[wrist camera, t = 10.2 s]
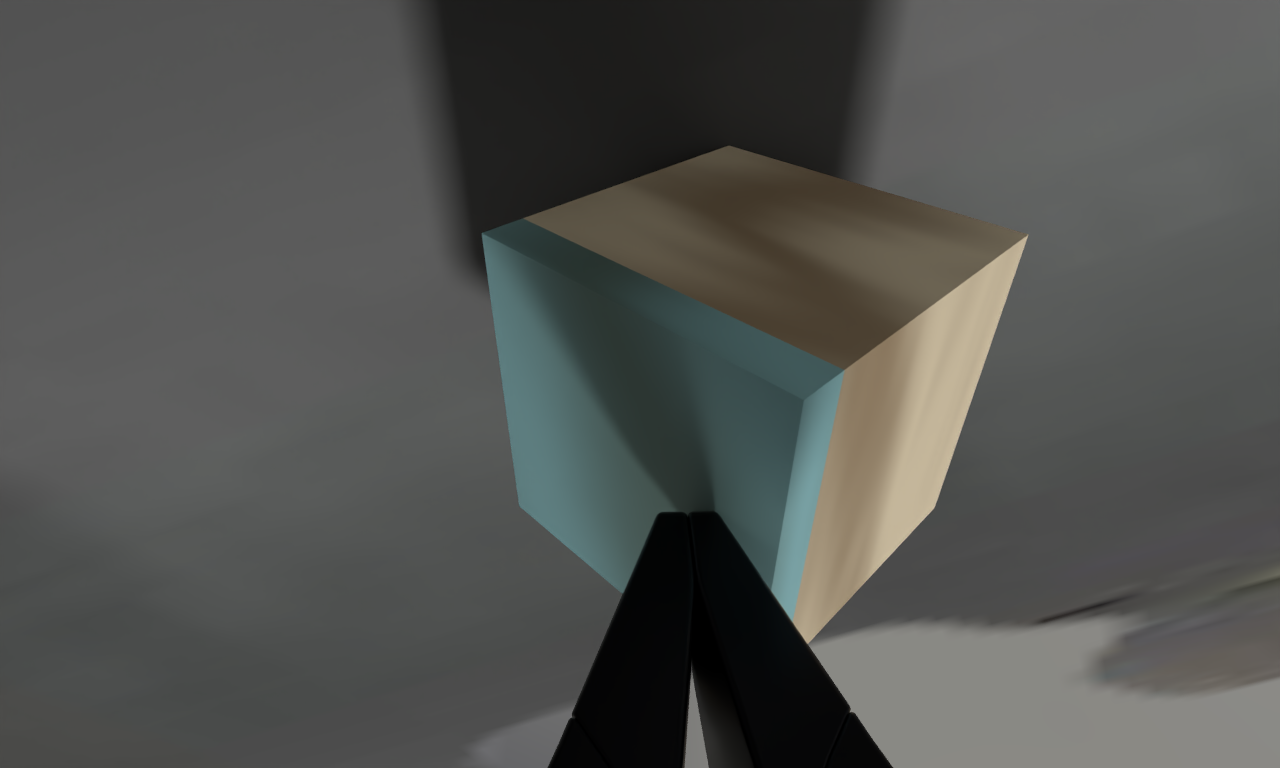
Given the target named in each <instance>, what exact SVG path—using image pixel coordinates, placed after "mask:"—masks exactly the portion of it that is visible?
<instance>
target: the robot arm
mask: <svg viewBox="0 0 1280 768" xmlns="http://www.w3.org/2000/svg"><path fill="white" fill-rule="evenodd" d="M691 663H692V672H693V679H694V686H695V691H696V697H697V702H698V708H699V714H700V720H701V725H702V731H703V737H704V742H705V748H706V753H707V759H708V765H709V768H893V767H892V766H891V764H890V763H889V761H888V760H887V759H886V757H885V756H884V754H883V753H882V752H881V750H880V749H879V748H878V746H877V745H876V743H875V742H874V741H873V739H872V738H871V736H870V735H869V733H868V732H867V730H866V729H865V727H864V726H863V724H862V723H861V722H860V720H859V719H858V717H857V716H856V714H855V713H853V712H850V710H851V708H850V706H849V705H848V703H847V701H846V700H845V698H844V697H843V696H842V694H841V693H840V691H839V690H838V688H837V687H836V685H835V684H834V682H833V681H832V679H831V678H830V677H829V675H828V674H827V672H826V671H825V669H824V668H823V666H822V665H821V663H820V662H819V660H818V659H817V657H816V656H815V654H814V653H813V652H812V650H811V648H810V647H809V646H808V644H807V643H806V641H805V640H804V638H803V637H802V635H801V634H800V632H799V631H798V629H797V628H796V626H795V625H794V623H793V622H792V621H791V619H790V618H789V616H788V615H787V613H786V612H785V610H784V609H783V607H782V606H781V604H780V603H779V601H778V600H777V598H776V597H775V596H774V594H773V593H772V591H771V590H770V588H769V587H768V585H767V584H766V582H765V581H764V579H763V578H762V576H761V575H760V573H759V572H758V571H757V569H756V568H755V566H754V565H753V563H752V562H751V560H750V559H749V557H748V556H747V554H746V553H745V551H744V550H743V548H742V547H741V545H740V544H739V543H738V541H737V540H736V538H735V537H734V535H733V534H732V532H731V531H730V529H729V528H728V526H727V525H726V523H725V522H724V520H723V519H722V518H721V516H720V515H719V514H718V513H717V512H715V511H692V512H690V513H689V514H688V516H687V514H686V513H685V512H660V513H658V514H657V516H656V517H655V520H654V522H653V524H652V527H651V529H650V531H649V534H648V536H647V538H646V541H645V543H644V545H643V548H642V550H641V552H640V555H639V557H638V559H637V562H636V564H635V566H634V569H633V571H632V574H631V576H630V578H629V581H628V583H627V585H626V588H625V590H624V592H623V595H622V597H621V599H620V602H619V604H618V606H617V609H616V611H615V613H614V616H613V618H612V621H611V623H610V625H609V628H608V630H607V632H606V635H605V637H604V639H603V642H602V644H601V646H600V649H599V651H598V653H597V656H596V658H595V660H594V663H593V665H592V668H591V670H590V672H589V675H588V677H587V679H586V682H585V684H584V686H583V689H582V691H581V693H580V696H579V698H578V700H577V703H576V705H575V707H574V710H573V712H572V718H570V719H569V721H568V723H567V725H566V728H565V730H564V733H563V735H562V737H561V739H560V742H559V744H558V746H557V749H556V751H555V753H554V755H553V757H552V760H551V762H550V764H549V766H548V768H684V767H685V753H686V739H687V724H688V709H689V695H690V679H691Z"/></svg>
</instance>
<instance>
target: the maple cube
mask: <svg viewBox="0 0 1280 768" xmlns="http://www.w3.org/2000/svg"><path fill="white" fill-rule="evenodd" d="M1027 237H1028V234H1025V233H1021V232H1018V231H1015V230H1011V229H1008V228H1005V227H1001V226H998V225H995V224H991V223H988V222H984V221H981V220H978V219H974V218H971V217H968V216H964V215H961V214H958V213H954V212H951V211H947V210H944V209H941V208H937V207H934V206H931V205H927V204H924V203H921V202H917V201H914V200H910V199H907V198H904V197H900V196H897V195H894V194H890V193H887V192H884V191H880V190H877V189H873V188H870V187H867V186H863V185H860V184H857V183H853V182H850V181H846V180H843V179H840V178H836V177H833V176H830V175H826V174H823V173H820V172H816V171H813V170H809V169H806V168H803V167H799V166H796V165H793V164H789V163H786V162H783V161H779V160H776V159H772V158H769V157H766V156H762V155H759V154H756V153H752V152H749V151H746V150H742V149H739V148H735V147H732V146H726V147H723V148H720V149H717V150H715V151H712V152H709V153H706V154H703V155H700V156H698V157H695V158H692V159H689V160H686V161H683V162H681V163H678V164H675V165H672V166H669V167H667V168H664V169H661V170H658V171H655V172H652V173H650V174H647V175H644V176H641V177H638V178H635V179H633V180H630V181H627V182H624V183H621V184H618V185H616V186H613V187H610V188H607V189H604V190H602V191H599V192H596V193H593V194H590V195H587V196H585V197H582V198H579V199H576V200H573V201H570V202H568V203H565V204H562V205H559V206H556V207H554V208H551V209H548V210H545V211H542V212H539V213H537V214H534V215H531V216H528V217H525V218H522V219H520V220H517V221H514V222H511V223H508V224H506V225H503V226H500V227H497V228H494V229H491V230H489V231H486V232H483V233H482V240H483V247H484V254H485V262H486V269H487V276H488V283H489V291H490V298H491V305H492V312H493V319H494V327H495V334H496V341H497V348H498V356H499V363H500V370H501V377H502V385H503V392H504V399H505V406H506V414H507V421H508V428H509V435H510V442H511V450H512V457H513V464H514V471H515V479H516V486H517V493H518V500H519V506H520V507H521V508H522V509H523V510H525V511H526V512H527V513H528V514H529V515H530V516H532V517H533V518H534V519H535V520H536V521H537V522H539V523H540V524H541V525H542V526H543V527H545V528H546V529H547V530H548V531H549V532H550V533H552V534H553V535H554V536H555V537H556V538H557V539H559V540H560V541H561V542H562V543H563V544H565V545H566V546H567V547H568V548H569V549H570V550H572V551H573V552H574V553H575V554H576V555H577V556H579V557H580V558H581V559H582V560H583V561H585V562H586V563H587V564H588V565H589V566H590V567H592V568H593V569H594V570H595V571H596V572H597V573H599V574H600V575H601V576H602V577H603V578H605V579H606V580H607V581H608V582H609V583H610V584H612V585H613V586H614V587H615V588H616V589H617V590H619V591H620V592H621V593H622V594H623V592H624V590H625V588H626V585H627V583H628V581H629V578H630V576H631V574H632V571H633V569H634V566H635V564H636V562H637V559H638V557H639V555H640V552H641V550H642V548H643V545H644V543H645V541H646V538H647V536H648V534H649V531H650V529H651V527H652V524H653V522H654V520H655V517H656V516H657V514H658V513H660V512H685V513H686V514H687V516H688V514H689V513H690V512H692V511H715V512H717V513H718V514H719V515H720V516H721V518H722V519H723V520H724V522H725V523H726V525H727V526H728V528H729V529H730V531H731V532H732V534H733V535H734V537H735V538H736V540H737V541H738V543H739V544H740V545H741V547H742V548H743V550H744V551H745V553H746V554H747V556H748V557H749V559H750V560H751V562H752V563H753V565H754V566H755V568H756V569H757V571H758V572H759V573H760V575H761V576H762V578H763V579H764V581H765V582H766V584H767V585H768V587H769V588H770V590H771V591H772V593H773V594H774V596H775V597H776V598H777V600H778V601H779V603H780V604H781V606H782V607H783V609H784V610H785V612H786V613H787V615H788V616H789V618H790V619H791V621H792V622H793V623H794V625H795V626H796V628H797V629H798V631H799V632H800V634H801V635H802V637H803V638H804V640H805V641H806V643H807V644H808V643H809V642H810V641H811V640H812V639H813V638H814V637H815V636H816V634H817V633H818V632H819V631H820V630H821V629H822V628H823V627H824V626H825V625H826V624H827V623H828V622H829V620H830V619H831V618H832V617H833V616H834V615H835V614H836V613H837V612H838V611H839V610H840V609H841V608H842V606H843V605H844V604H845V603H846V602H847V601H848V600H849V599H850V598H851V597H852V596H853V595H854V594H855V593H856V591H857V590H858V589H859V588H860V587H861V586H862V585H863V584H864V583H865V582H866V581H867V580H868V579H869V577H870V576H871V575H872V574H873V573H874V572H875V571H876V570H877V569H878V568H879V567H880V566H881V565H882V564H883V562H884V561H885V560H886V559H887V558H888V557H889V556H890V555H891V554H892V553H893V552H894V551H895V550H896V548H897V547H898V546H899V545H900V544H901V543H902V542H903V541H904V540H905V539H906V538H907V537H908V536H909V535H910V533H911V532H912V531H913V530H914V529H915V528H916V527H917V526H918V525H919V524H920V523H921V522H922V521H923V519H924V518H925V517H926V516H927V515H928V514H929V513H930V512H931V511H932V510H933V509H934V508H935V505H936V502H937V499H938V496H939V493H940V490H941V487H942V484H943V482H944V479H945V476H946V473H947V470H948V467H949V464H950V461H951V458H952V455H953V452H954V450H955V447H956V444H957V441H958V438H959V435H960V432H961V429H962V426H963V423H964V420H965V418H966V415H967V412H968V409H969V406H970V403H971V400H972V397H973V394H974V391H975V388H976V386H977V383H978V380H979V377H980V374H981V371H982V368H983V365H984V362H985V359H986V357H987V354H988V351H989V348H990V345H991V342H992V339H993V336H994V333H995V330H996V327H997V325H998V322H999V319H1000V316H1001V313H1002V310H1003V307H1004V304H1005V301H1006V298H1007V295H1008V293H1009V290H1010V287H1011V284H1012V281H1013V278H1014V275H1015V272H1016V269H1017V266H1018V264H1019V261H1020V258H1021V255H1022V252H1023V249H1024V246H1025V243H1026V240H1027Z"/></svg>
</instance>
